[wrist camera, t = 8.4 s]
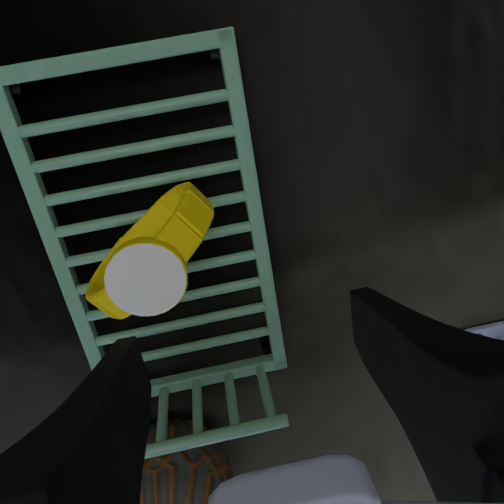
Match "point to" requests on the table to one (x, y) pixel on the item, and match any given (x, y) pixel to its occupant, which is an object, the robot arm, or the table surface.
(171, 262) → the watch
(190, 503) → the vase
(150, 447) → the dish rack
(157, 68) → the table surface
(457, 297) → the table surface
